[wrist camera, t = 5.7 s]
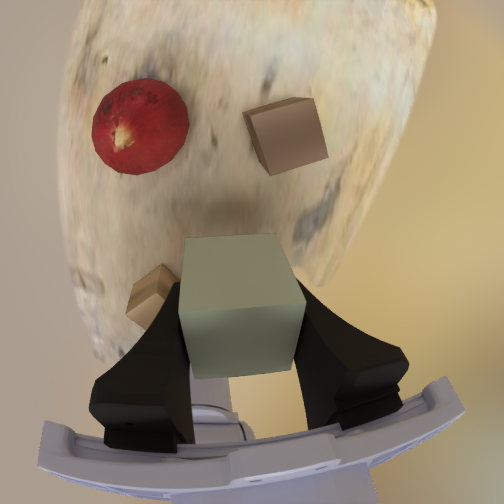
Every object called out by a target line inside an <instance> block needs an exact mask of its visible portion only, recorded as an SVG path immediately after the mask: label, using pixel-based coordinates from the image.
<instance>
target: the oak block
mask: <svg viewBox="0 0 504 504" xmlns="http://www.w3.org/2000/svg"><path fill="white" fill-rule="evenodd" d="M174 282H181V281H180V280H179V279H178V278H177V277H176V276H175V275H173V274H172V273H171V272H170V271H169V270H168V269H167V268H166V267H165V266H164V265H163V264H161V265H159V266H158V267H157V268H155V269H154V270H153V271H152V272H150V273H149V274H148V275H146V276H145V277H144V278H142V279H141V280H140V281H138V282H137V283H136V284H135V285H133V288H132V292H131V295H130V299H129V302H128V306H127V310H126V314H125V315H126V316H128V317H129V318H130V319H132V320H133V321H134V322H136V323H137V324H138V325H140V326H141V327H142V328H144V329H145V330H147V329H148V327H149V326H150V324H151V323H152V321H153V320H154V318H155V317H156V315H157V314H158V312H159V310H160V308H161V307H162V305H163V303H164V301H165V299H166V297H167V296H168V294H169V291H170V289H171V287H172V285H173V283H174Z"/></svg>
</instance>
